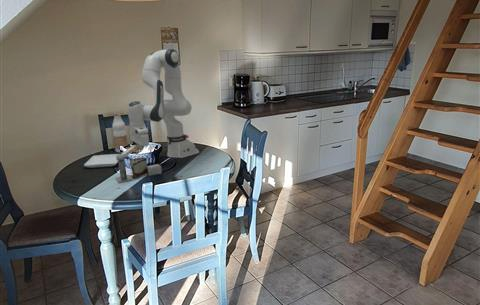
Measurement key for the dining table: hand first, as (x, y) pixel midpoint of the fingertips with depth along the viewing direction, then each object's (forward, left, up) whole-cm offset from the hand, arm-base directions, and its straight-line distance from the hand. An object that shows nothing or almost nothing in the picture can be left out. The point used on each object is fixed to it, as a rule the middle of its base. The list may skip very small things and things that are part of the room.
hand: (140, 149), depth 231 cm
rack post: (+15, +10, -13) cm, 22 cm away
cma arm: (+8, +3, 0) cm, 9 cm away
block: (-3, +12, -13) cm, 18 cm away
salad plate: (+18, -29, -14) cm, 36 cm away
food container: (+6, +8, -13) cm, 17 cm away
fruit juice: (+1, -51, -13) cm, 52 cm away
